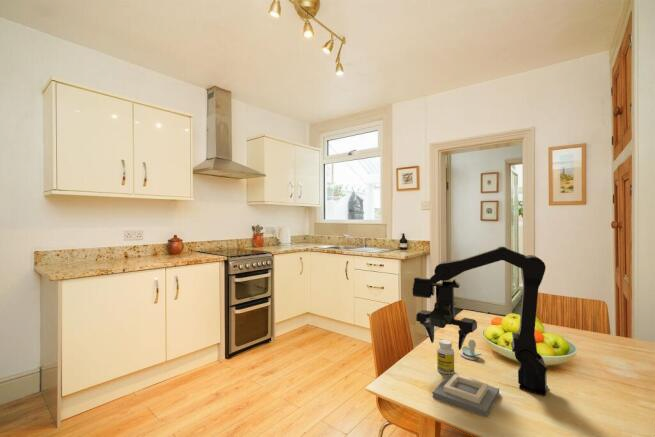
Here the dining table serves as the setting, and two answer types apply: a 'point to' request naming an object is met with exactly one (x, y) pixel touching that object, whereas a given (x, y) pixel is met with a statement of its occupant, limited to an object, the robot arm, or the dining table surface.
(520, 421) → the dining table surface
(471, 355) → the pacifier
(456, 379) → the plate
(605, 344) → the dining table surface
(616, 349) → the dining table surface
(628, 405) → the dining table surface
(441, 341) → the supplement bottle
